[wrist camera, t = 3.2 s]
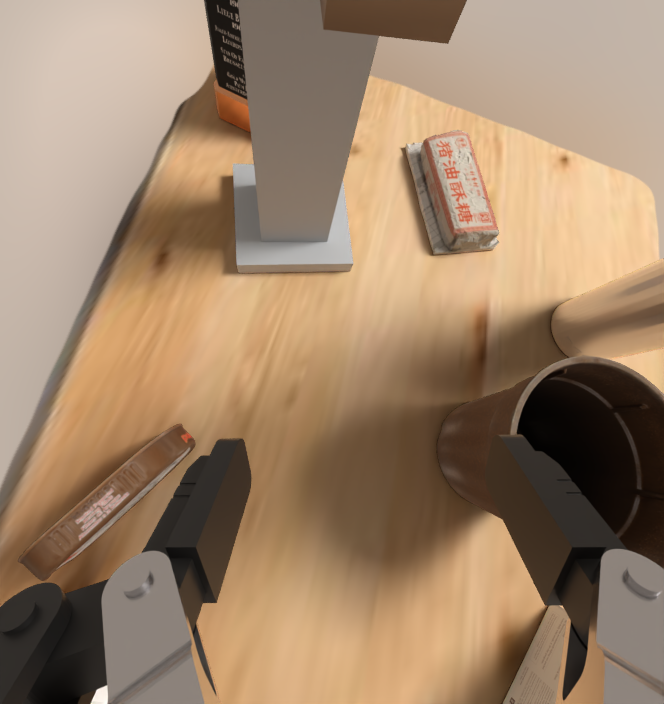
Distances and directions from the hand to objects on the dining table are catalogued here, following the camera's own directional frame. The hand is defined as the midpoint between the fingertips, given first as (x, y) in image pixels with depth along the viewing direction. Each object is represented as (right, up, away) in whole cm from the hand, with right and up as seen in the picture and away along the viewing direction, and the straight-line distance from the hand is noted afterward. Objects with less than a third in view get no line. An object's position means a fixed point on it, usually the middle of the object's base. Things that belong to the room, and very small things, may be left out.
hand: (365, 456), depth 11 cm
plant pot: (+17, -9, +29) cm, 35 cm away
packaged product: (+16, +26, +37) cm, 48 cm away
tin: (-21, -10, +23) cm, 32 cm away
